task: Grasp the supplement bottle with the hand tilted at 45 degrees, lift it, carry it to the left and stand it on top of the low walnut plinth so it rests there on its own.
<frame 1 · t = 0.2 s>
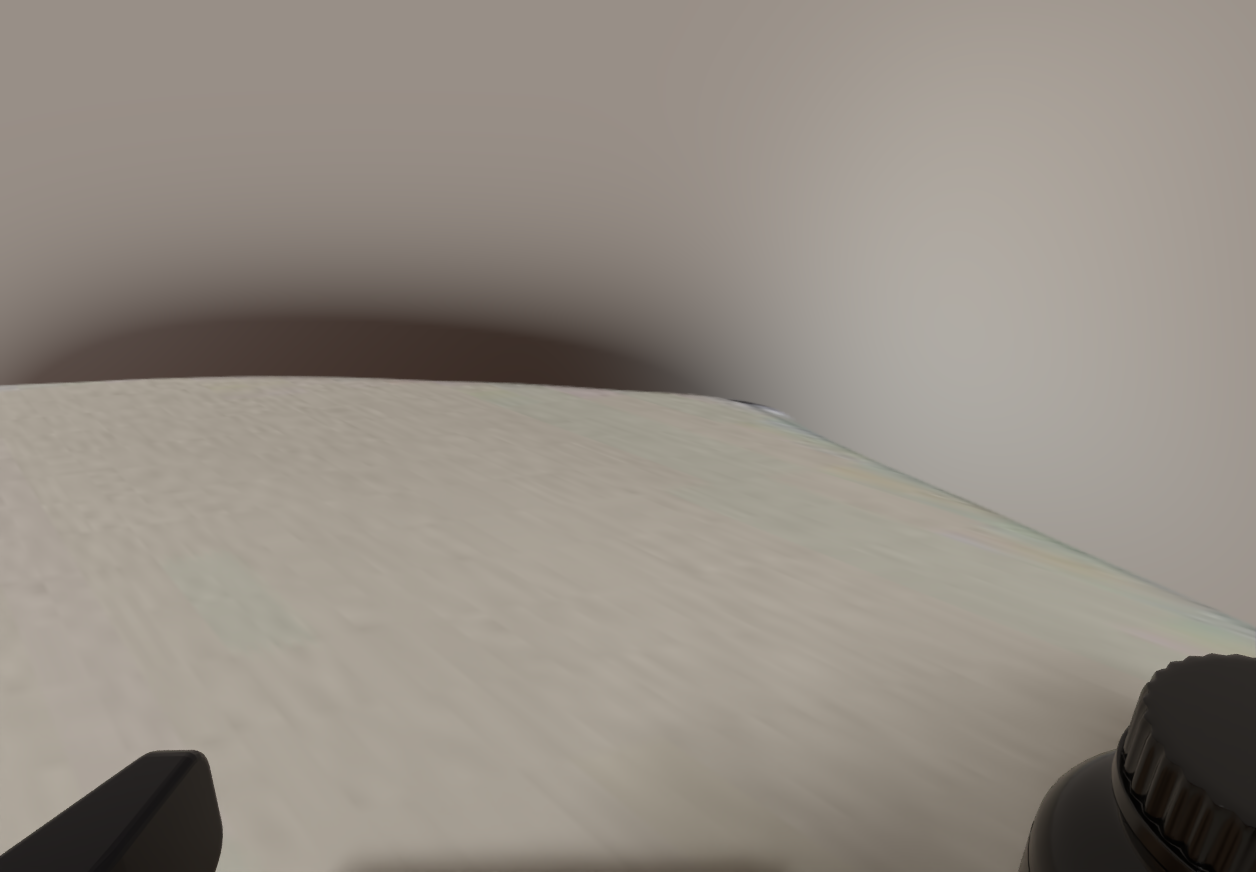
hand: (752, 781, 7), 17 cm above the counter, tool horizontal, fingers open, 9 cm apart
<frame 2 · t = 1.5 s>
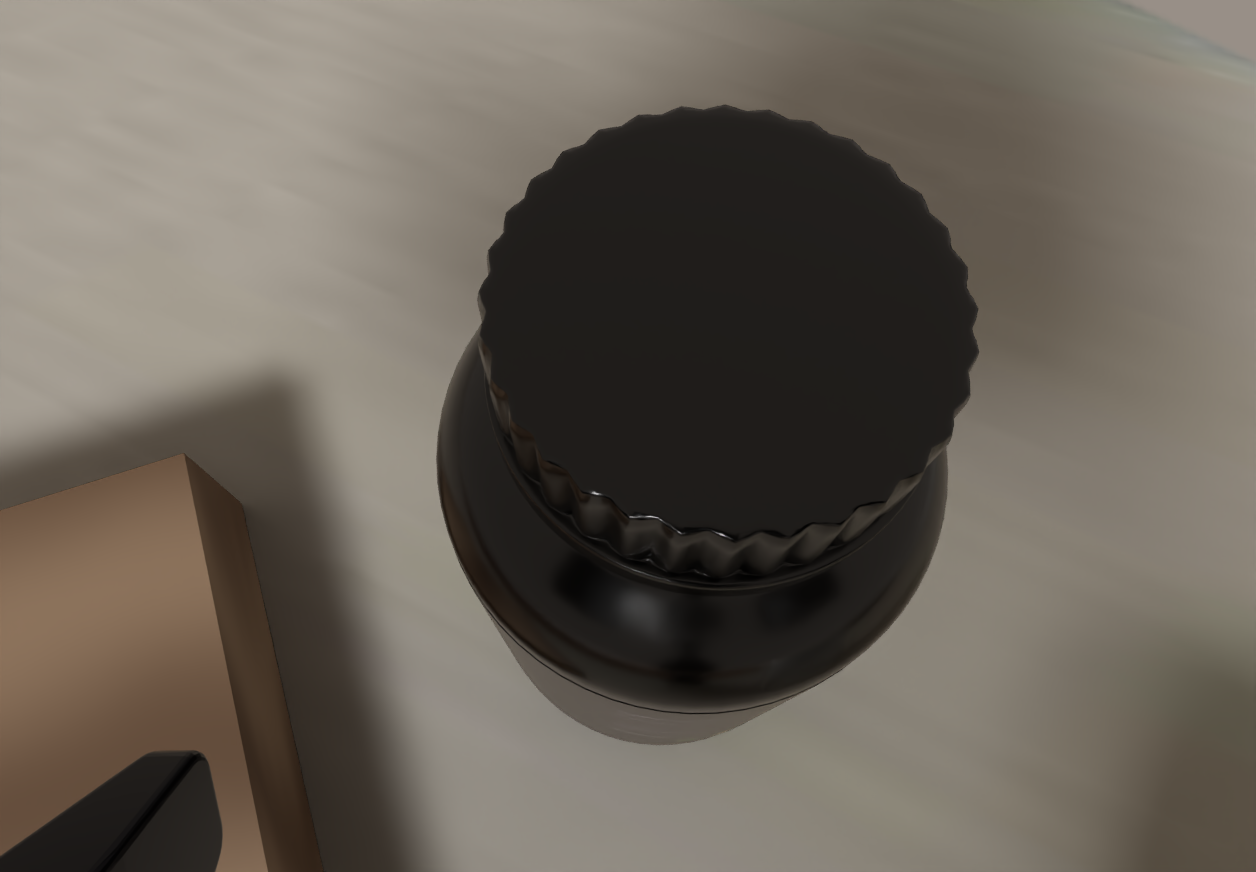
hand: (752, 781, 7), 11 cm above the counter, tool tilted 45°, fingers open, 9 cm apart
supplement bottle: (655, 589, 19), on the counter
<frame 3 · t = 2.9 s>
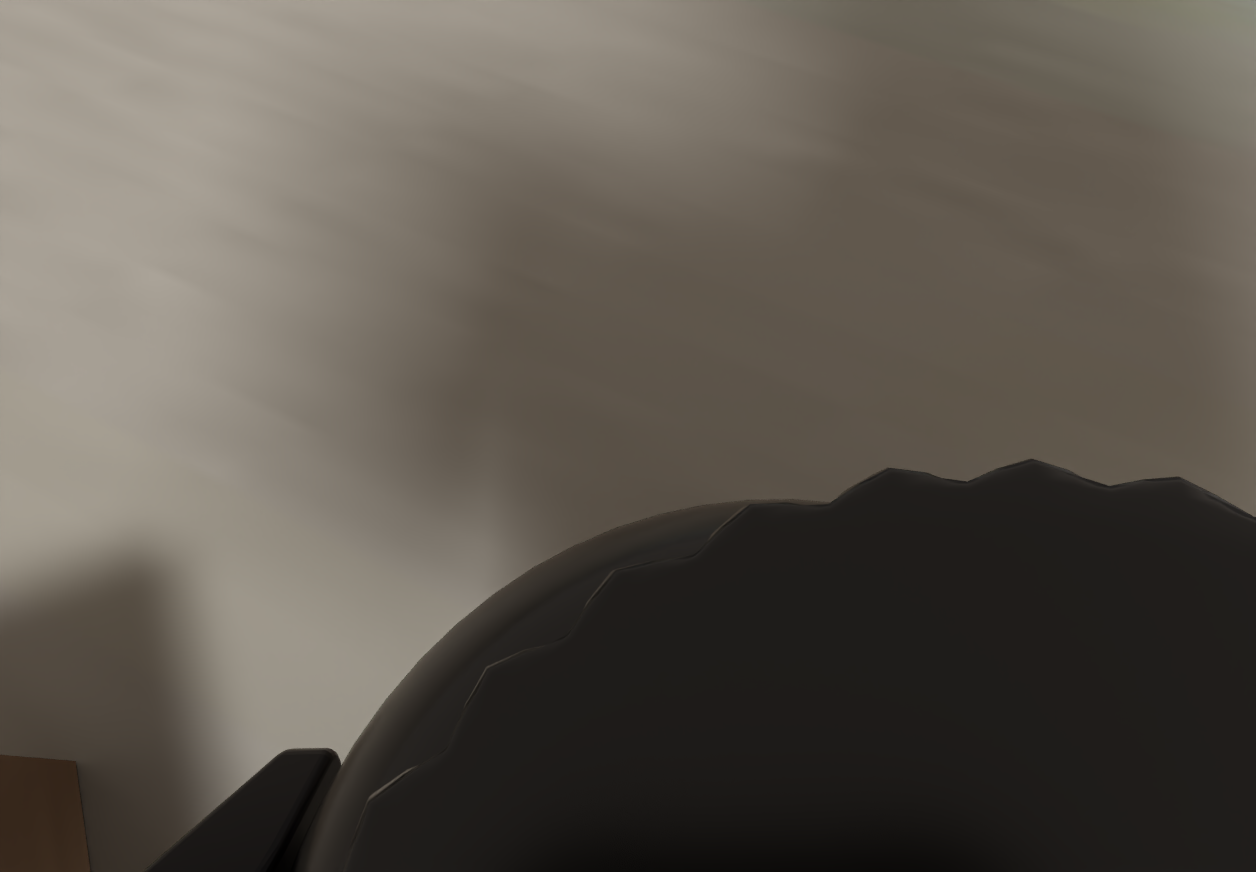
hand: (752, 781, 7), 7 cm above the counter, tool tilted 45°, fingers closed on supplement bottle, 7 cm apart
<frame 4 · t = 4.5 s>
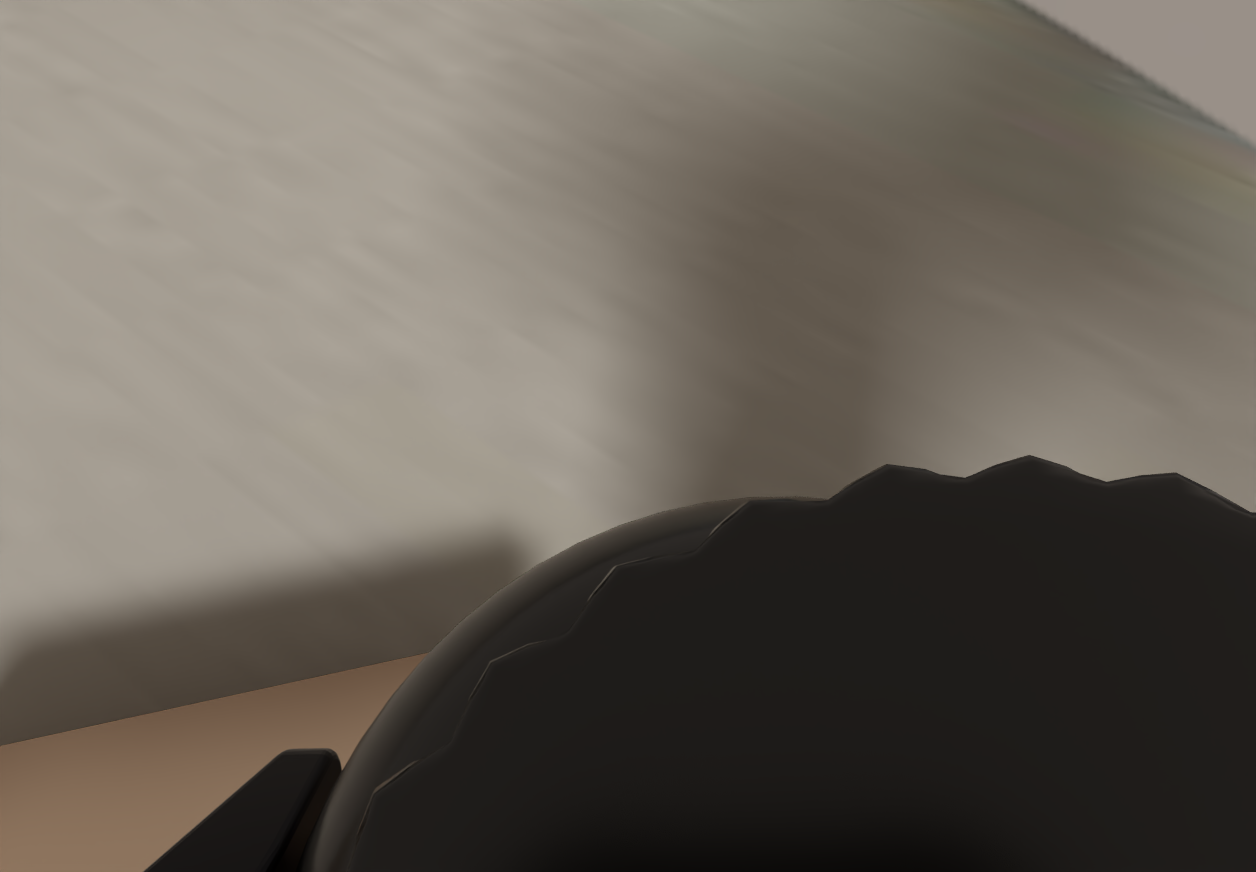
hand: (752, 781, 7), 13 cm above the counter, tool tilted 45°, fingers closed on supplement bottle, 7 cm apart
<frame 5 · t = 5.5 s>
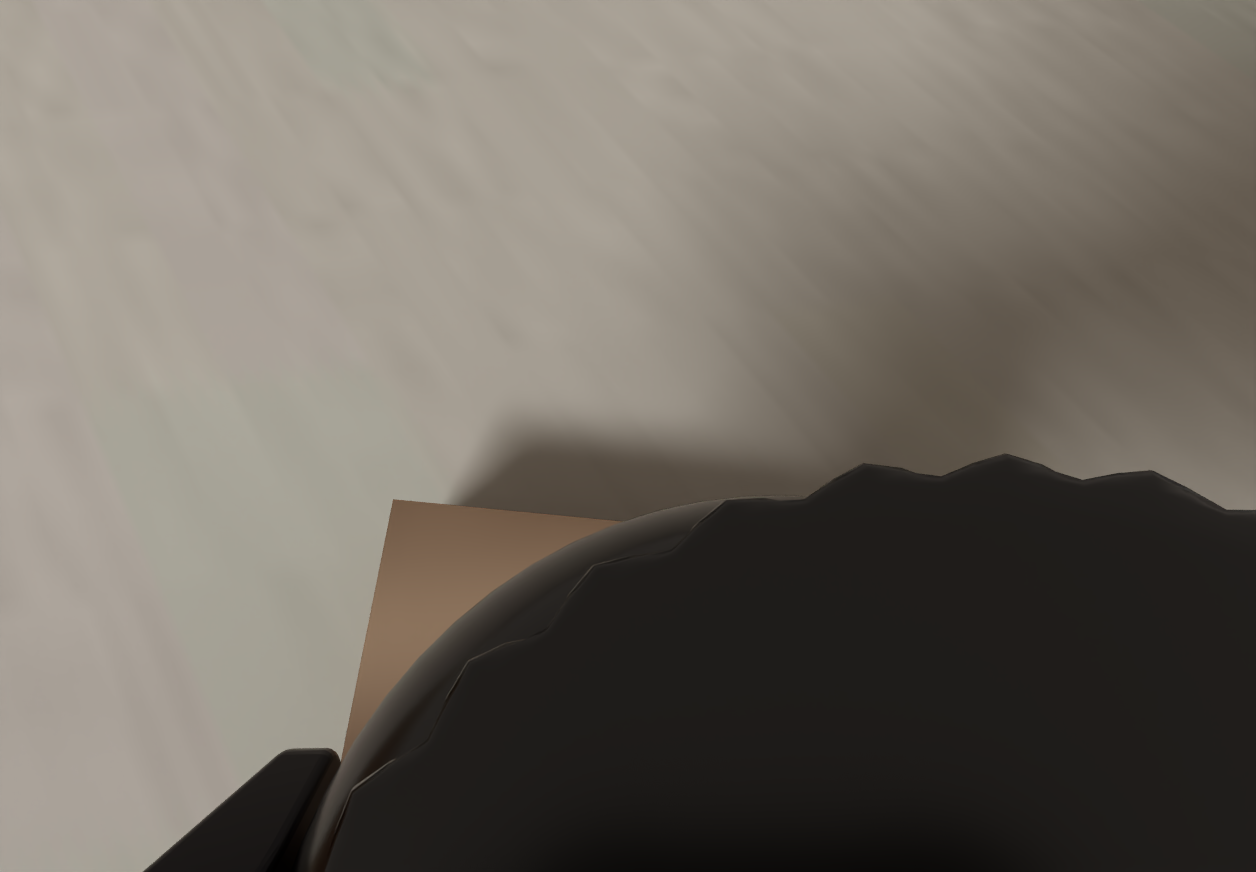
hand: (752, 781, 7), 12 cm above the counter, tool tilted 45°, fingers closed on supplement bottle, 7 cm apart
walnut plinth: (660, 850, 18), on the counter
when the fingers open (11 cm above the counter, at t = 6.2 s): supplement bottle drops 1 cm, resting on walnut plinth.
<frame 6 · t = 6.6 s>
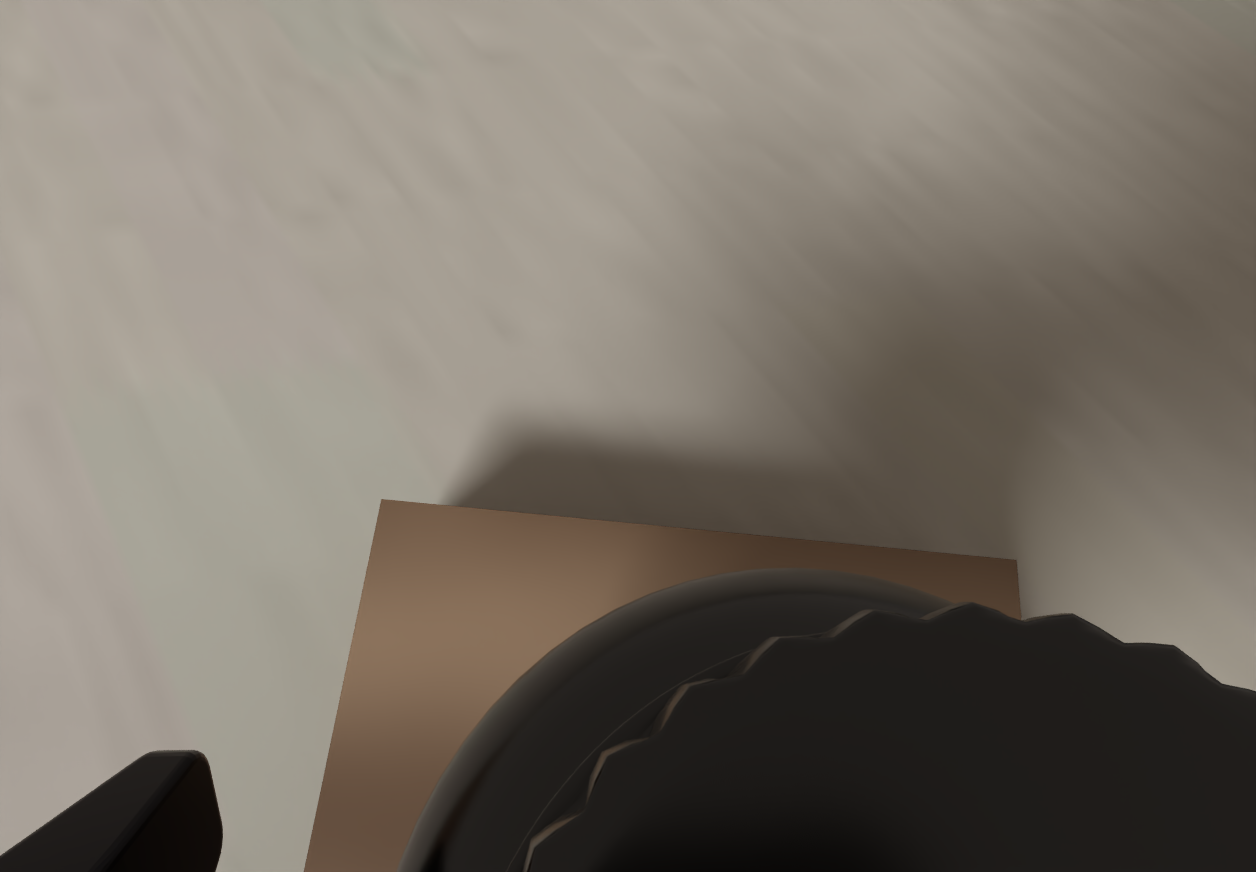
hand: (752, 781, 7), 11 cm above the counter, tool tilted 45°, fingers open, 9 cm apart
walnut plinth: (663, 871, 17), on the counter
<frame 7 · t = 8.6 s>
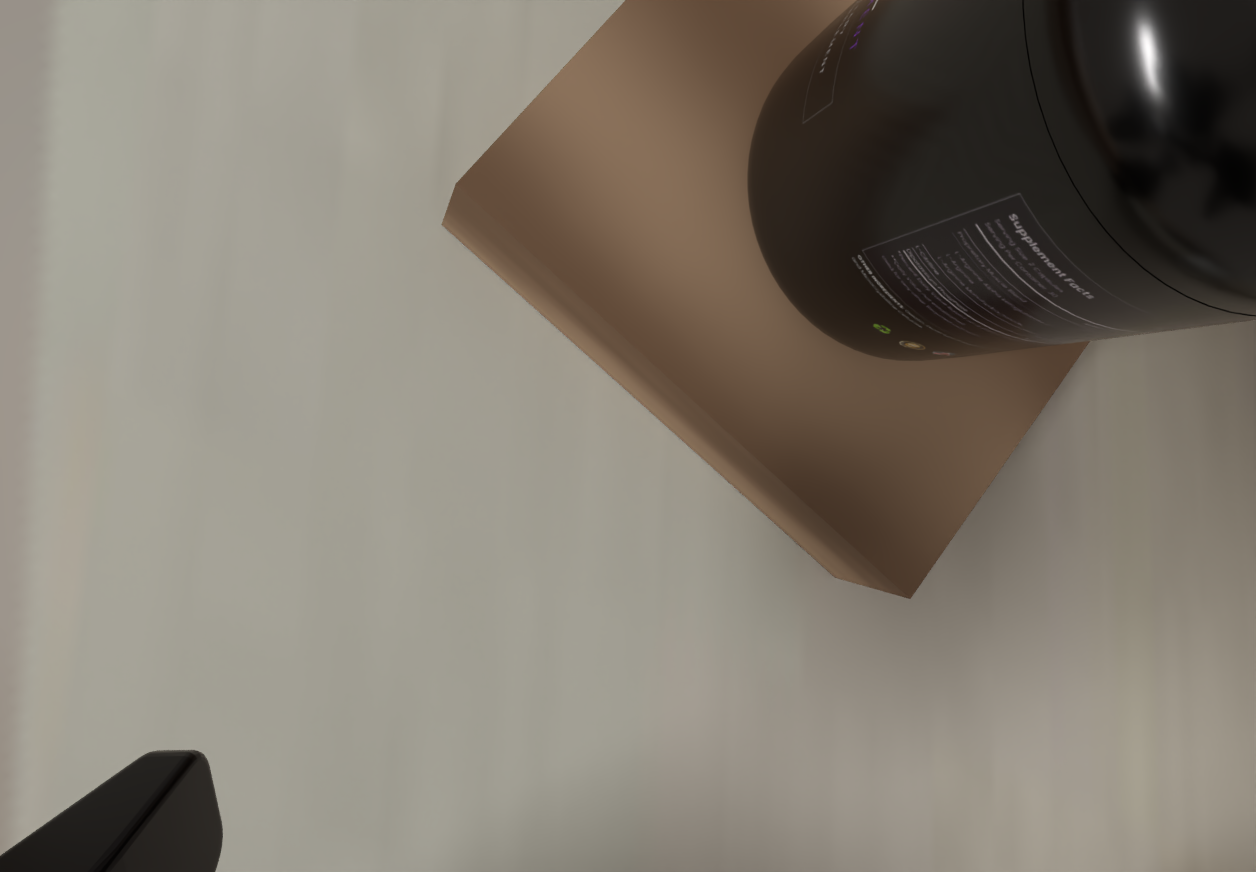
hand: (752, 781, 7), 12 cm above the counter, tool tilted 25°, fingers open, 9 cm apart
walnut plinth: (807, 219, 21), on the counter
supplement bottle: (881, 203, 18), point 3 cm above the counter, touching walnut plinth
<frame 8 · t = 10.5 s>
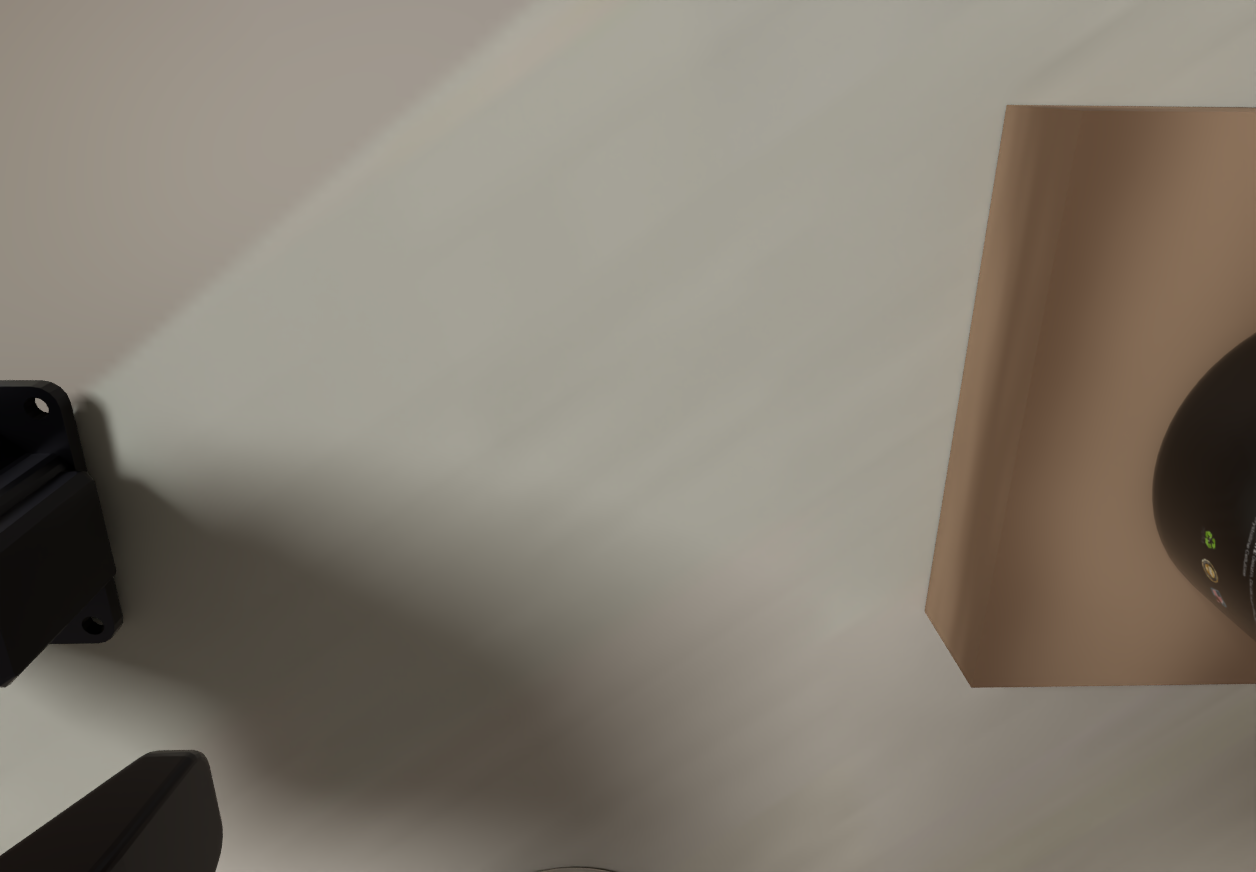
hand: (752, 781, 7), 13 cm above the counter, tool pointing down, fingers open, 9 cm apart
walnut plinth: (1218, 386, 20), on the counter
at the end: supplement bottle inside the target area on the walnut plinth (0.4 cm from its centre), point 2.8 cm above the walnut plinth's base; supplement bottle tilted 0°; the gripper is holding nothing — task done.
